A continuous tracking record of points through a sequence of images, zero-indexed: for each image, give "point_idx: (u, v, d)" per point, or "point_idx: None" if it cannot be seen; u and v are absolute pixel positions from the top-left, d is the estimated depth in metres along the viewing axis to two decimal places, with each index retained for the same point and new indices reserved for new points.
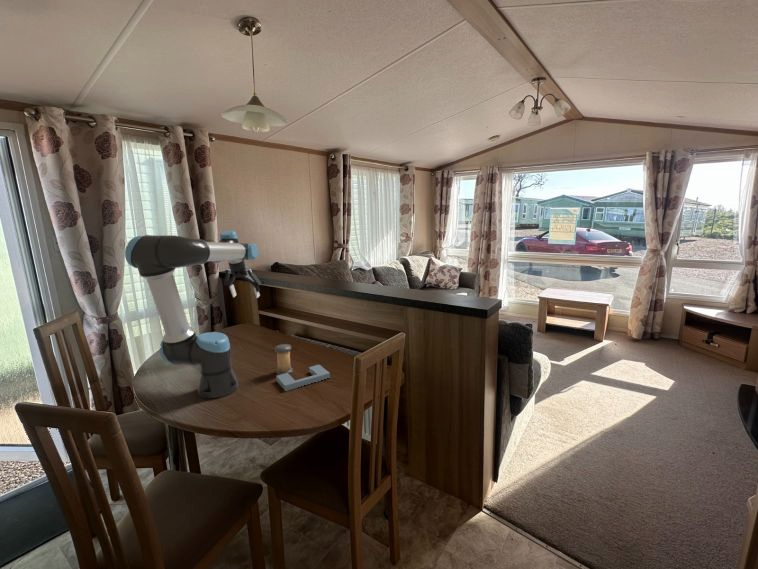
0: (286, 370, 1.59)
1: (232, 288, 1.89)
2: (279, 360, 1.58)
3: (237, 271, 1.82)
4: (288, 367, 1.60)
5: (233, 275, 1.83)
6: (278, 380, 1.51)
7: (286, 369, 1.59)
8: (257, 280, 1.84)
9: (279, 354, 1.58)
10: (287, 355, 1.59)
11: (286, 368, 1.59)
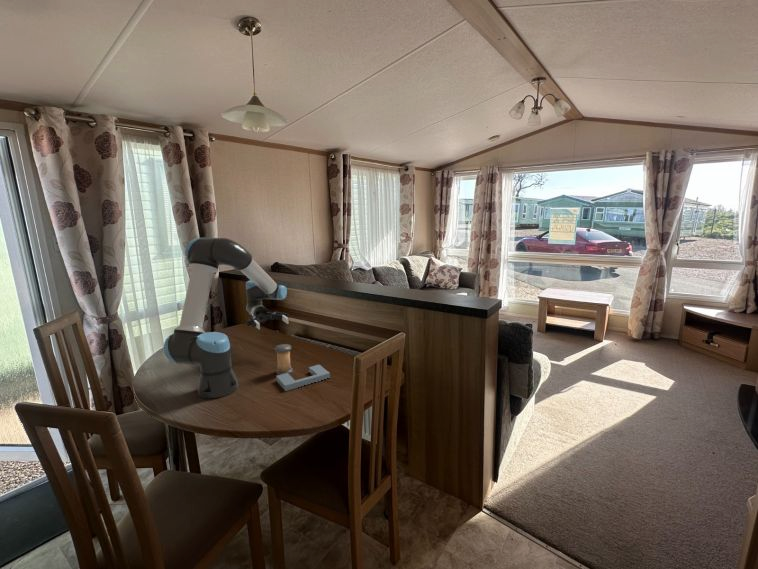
0: (286, 370, 1.59)
1: None
2: (279, 360, 1.58)
3: (263, 313, 1.79)
4: (288, 367, 1.60)
5: (259, 314, 1.76)
6: (278, 380, 1.51)
7: (286, 369, 1.59)
8: None
9: (279, 354, 1.58)
10: (287, 355, 1.59)
11: (286, 368, 1.59)
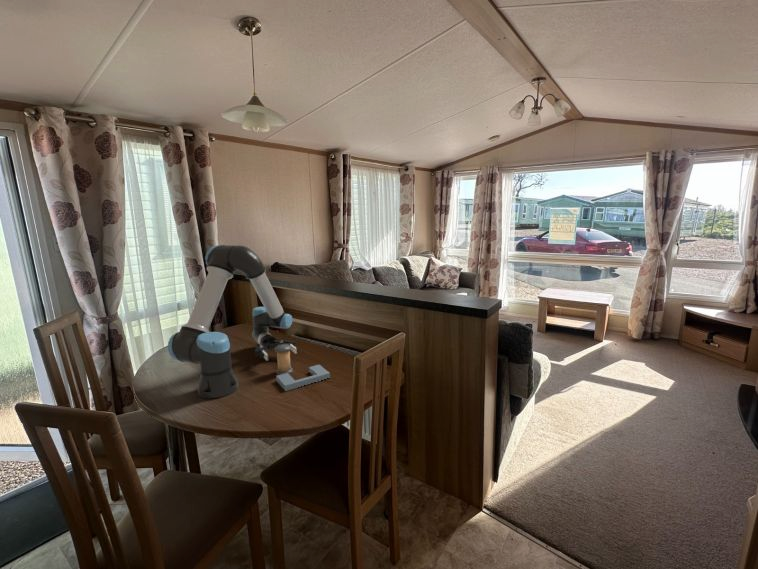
0: (286, 370, 1.59)
1: None
2: (279, 360, 1.58)
3: (270, 342, 1.77)
4: (288, 367, 1.60)
5: (266, 343, 1.74)
6: (278, 380, 1.51)
7: (286, 369, 1.59)
8: None
9: (279, 354, 1.58)
10: (287, 355, 1.59)
11: (286, 368, 1.59)
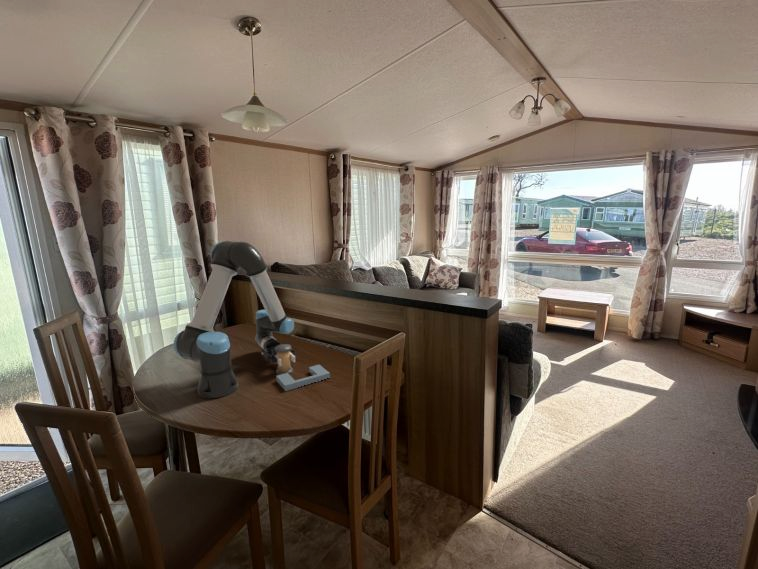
0: (286, 370, 1.59)
1: None
2: None
3: (272, 346, 1.71)
4: (288, 367, 1.60)
5: (272, 348, 1.67)
6: (278, 380, 1.51)
7: (286, 369, 1.59)
8: None
9: (279, 354, 1.58)
10: (287, 355, 1.59)
11: (286, 368, 1.59)
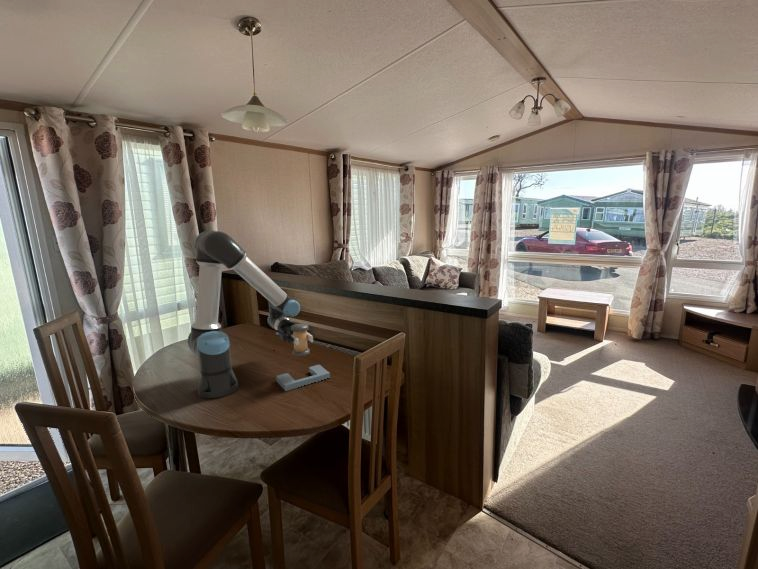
0: (303, 350, 1.50)
1: None
2: None
3: None
4: (305, 347, 1.51)
5: (287, 328, 1.58)
6: (278, 380, 1.51)
7: (303, 349, 1.50)
8: None
9: (296, 333, 1.48)
10: (304, 334, 1.50)
11: (303, 348, 1.50)
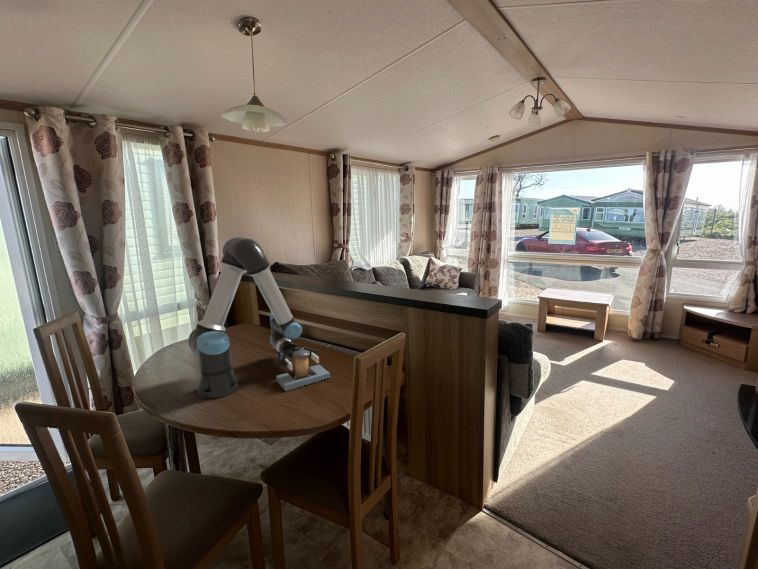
0: (304, 377, 1.52)
1: None
2: (297, 367, 1.51)
3: (290, 349, 1.63)
4: (306, 374, 1.53)
5: (287, 350, 1.60)
6: (278, 380, 1.51)
7: (304, 376, 1.52)
8: None
9: (297, 360, 1.50)
10: (306, 361, 1.52)
11: (304, 375, 1.52)
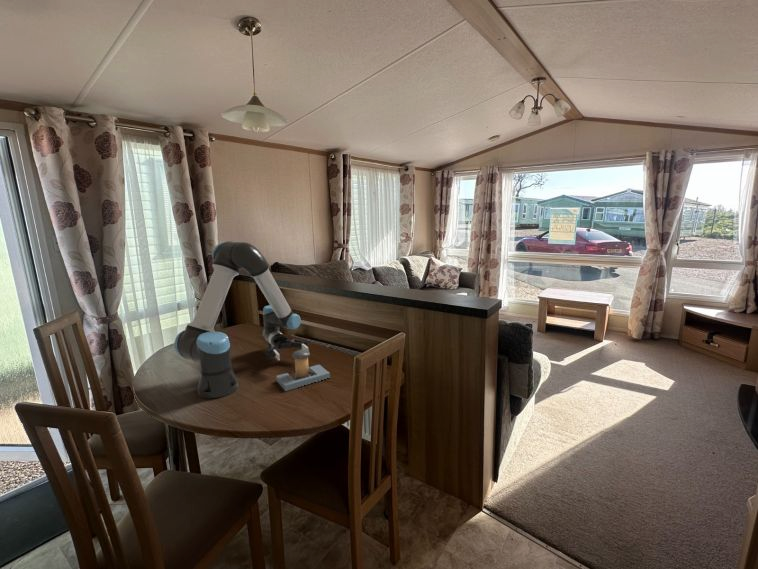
0: (304, 377, 1.52)
1: None
2: (297, 367, 1.51)
3: (281, 341, 1.73)
4: (306, 374, 1.53)
5: (277, 342, 1.70)
6: (278, 380, 1.51)
7: (304, 376, 1.52)
8: None
9: (297, 360, 1.51)
10: (306, 361, 1.52)
11: (304, 375, 1.52)
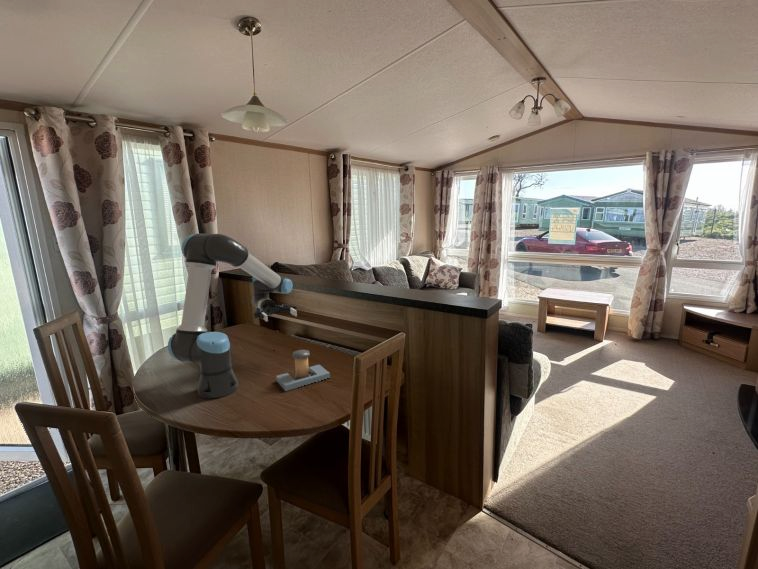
0: (304, 377, 1.52)
1: None
2: (297, 367, 1.51)
3: (270, 306, 1.75)
4: (306, 374, 1.53)
5: (266, 307, 1.71)
6: (278, 380, 1.51)
7: (304, 376, 1.52)
8: None
9: (297, 360, 1.51)
10: (306, 361, 1.52)
11: (304, 375, 1.52)
